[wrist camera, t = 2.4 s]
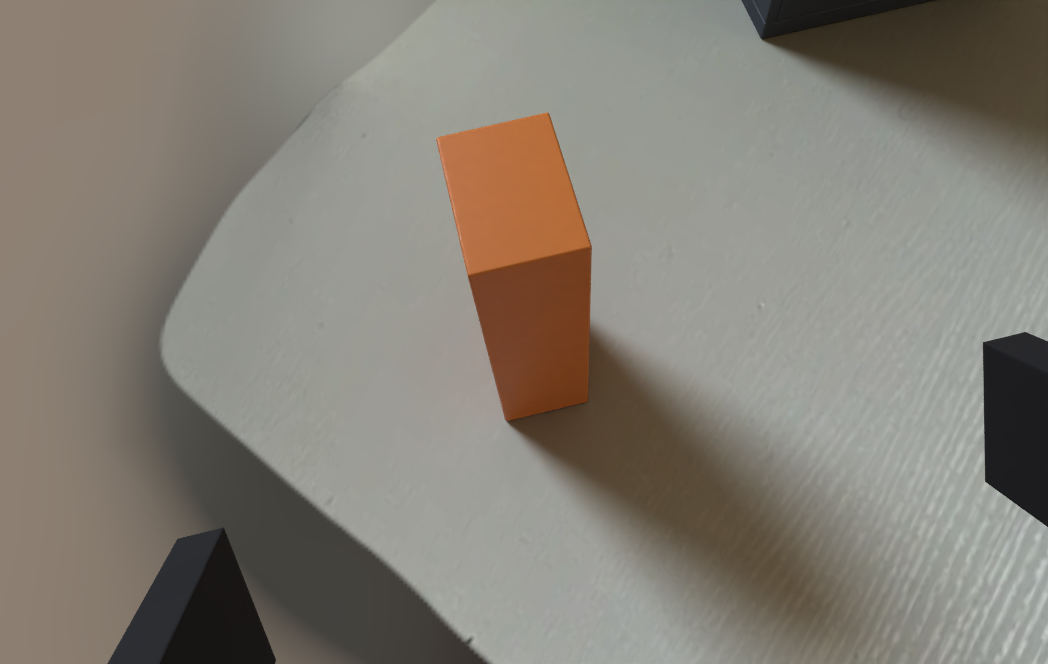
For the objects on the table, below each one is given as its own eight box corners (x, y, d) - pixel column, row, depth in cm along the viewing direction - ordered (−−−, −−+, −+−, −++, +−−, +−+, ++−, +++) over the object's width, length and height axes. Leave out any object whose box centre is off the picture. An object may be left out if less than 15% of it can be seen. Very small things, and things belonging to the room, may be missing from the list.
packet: (505, 421, 32) (467, 276, 21) (481, 317, 34) (435, 136, 23) (588, 402, 32) (592, 247, 21) (558, 298, 34) (548, 111, 23)
